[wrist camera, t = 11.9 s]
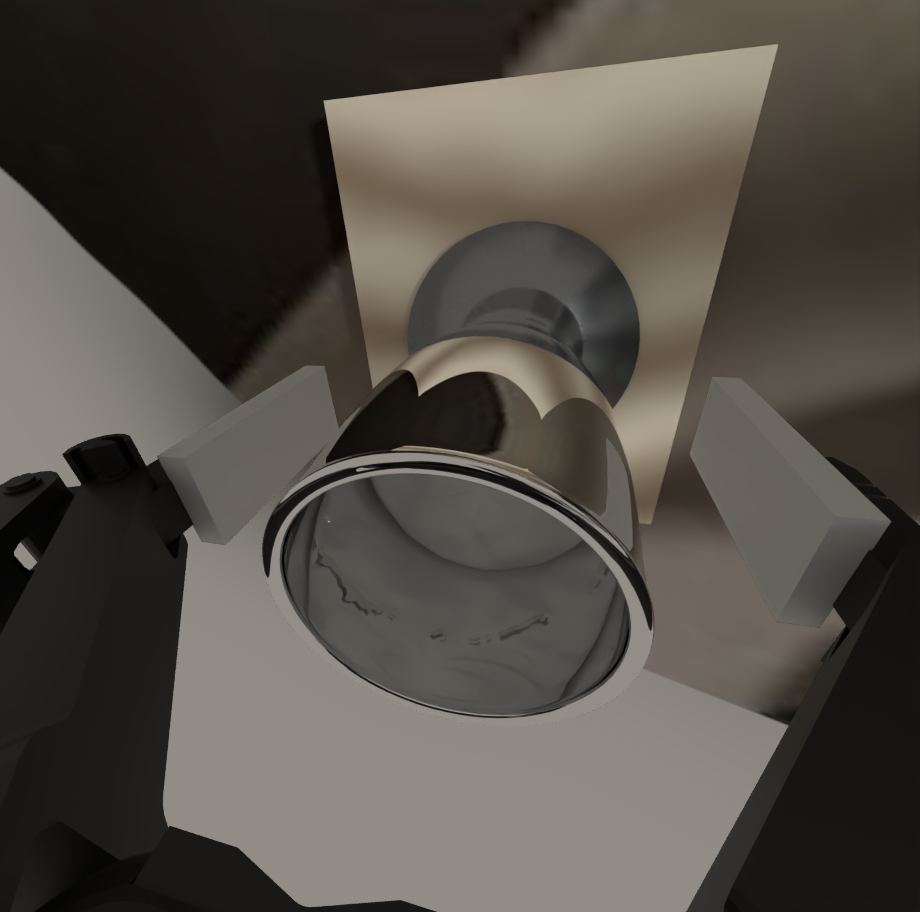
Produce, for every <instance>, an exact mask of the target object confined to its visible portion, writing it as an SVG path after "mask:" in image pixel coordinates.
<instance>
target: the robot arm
mask: <svg viewBox="0 0 920 912" xmlns="http://www.w3.org/2000/svg"><path fill="white" fill-rule="evenodd" d="M338 429H339V427H338V423H337V419H336V414H335V410H334V406H333V401H332V397H331V393H330V388H329V384H328V380H327V375H326V371H325V367H324V366H308V365H306V366H304V367H303V368H301V369H299V370H298V371H296V372H294V373H293V374H291V375H290V376H288V377H286V378H285V379H283V380H281V381H280V382H278V383H276V384H275V385H273V386H271V387H270V388H268V389H267V390H265V391H263V392H262V393H260V394H258V395H257V396H255V397H253V398H252V399H250V400H249V401H247V402H245V403H244V404H242V405H241V406H239V407H237V408H235V409H234V410H232V411H231V412H229V413H227V414H226V415H224V416H222V417H221V418H219V419H217V420H216V421H214V422H213V423H211V424H209V425H208V426H206V427H204V428H203V429H201V430H199V431H198V432H196V433H194V434H193V435H191V436H190V437H188V438H186V439H185V440H183V441H182V442H180V443H178V444H176V445H175V446H173V447H171V448H170V449H168V450H167V451H165V452H163V453H162V454H160V455H158V456H157V457H158V460H156V461H154V462H153V463H151V464H149V465H148V466H146V465H145V463H144V461H143V459H142V457H141V455H140V454H139V452H138V450H137V448H136V446H135V444H134V443H133V441H132V439H131V437H130V436H129V435H126V434H112V435H106V436H101V437H97V438H93V439H90V440H87V441H84V442H82V443H80V444H77V445H76V446H73V447H71V448H70V449H68V450H67V451H66V452H65V453H63V457H64V458H65V460H66V461H67V463H68V464H69V465H70V467H71V469H72V470H73V472H74V473H75V475H76V476H77V478H78V479H79V481H80V482H81V486H76V487H66V485H65V484H64V482H63V481H62V479H61V478H60V477H59V475H58V474H57V473H56V472H52V471H44V472H37V473H32V474H31V473H27V474H23V475H21V476H17V477H14V478H12V479H10V480H9V481H7V482H6V483H4V484H1V485H0V912H436V911H433V910H429V909H426V908H423V907H420V906H417V905H414V904H410V903H408V902H405V901H401V900H397V901H385V902H372V903H359V904H346V905H335V906H321V907H305V906H302V905H300V904H298V903H297V902H295V901H294V900H293V899H292V898H291V897H290V896H289V895H288V894H287V893H286V892H285V891H283V890H282V889H281V888H280V887H279V886H278V885H277V884H276V883H275V882H274V881H273V880H272V879H271V878H270V877H268V876H267V875H266V874H265V873H264V872H263V871H262V870H261V869H260V868H259V867H258V866H257V865H256V864H255V863H254V862H252V861H251V860H250V859H249V858H248V857H247V856H246V855H245V854H244V853H243V852H242V851H241V850H240V849H239V848H237V847H234V846H231V845H228V844H225V843H222V842H218V841H215V840H212V839H209V838H206V837H203V836H200V835H196V834H194V833H190V832H187V831H184V830H181V829H178V828H175V827H172V826H169V828H168V826H167V822H166V819H165V816H164V810H163V790H164V780H165V770H166V760H167V750H168V740H169V730H170V720H171V710H172V700H173V690H174V680H175V670H176V659H177V649H178V639H179V630H180V629H179V628H180V619H181V609H182V600H183V590H184V580H185V570H186V558H187V549H188V543H187V540H186V538H185V536H184V535H183V533H184V532H185V531H186V530H187V529H188V528H190V527H191V526H192V525H193V526H194V528H195V530H196V532H197V534H198V536H199V538H200V540H201V542H207V543H214V544H222V545H226V544H227V543H228V542H229V541H230V540H231V539H232V538H233V537H234V536H235V535H236V534H237V533H238V532H239V531H240V530H241V529H242V528H243V526H245V525H246V524H247V523H248V522H249V521H250V520H251V519H252V518H253V517H254V516H255V515H256V514H257V513H258V512H259V511H260V510H261V509H262V508H263V507H264V506H265V505H266V504H267V503H268V502H269V501H270V500H271V499H272V498H273V497H274V496H275V495H276V494H277V493H278V492H279V491H280V490H281V489H282V488H283V487H284V486H285V485H286V484H287V483H288V482H289V481H290V480H291V479H292V478H293V477H294V476H295V475H296V474H297V473H298V472H299V471H300V470H301V469H302V468H303V467H304V466H305V465H306V464H307V463H308V462H309V461H310V460H311V459H312V458H313V457H314V456H315V455H316V454H317V453H318V452H319V451H320V450H321V449H322V448H323V447H324V446H325V445H326V444H327V443H328V442H329V441H330V440H331V438H332V437H333V436H334V434H335V433H336V432H337V431H338ZM690 456H691V458H692V460H693V462H694V464H695V466H696V468H697V470H698V472H699V474H700V476H701V478H702V480H703V482H704V483H705V485H706V487H707V489H708V491H709V493H710V495H711V497H712V499H713V501H714V503H715V505H716V507H717V509H718V511H719V513H720V515H721V516H722V518H723V520H724V522H725V524H726V526H727V528H728V530H729V532H730V534H731V536H732V538H733V540H734V542H735V544H736V546H737V547H738V549H739V551H740V553H741V555H742V557H743V559H744V561H745V563H746V565H747V567H748V569H749V571H750V573H751V575H752V577H753V579H754V580H755V582H756V584H757V586H758V588H759V590H760V592H761V594H762V596H763V598H764V600H765V602H766V604H767V606H768V608H769V610H770V612H771V613H772V615H773V617H774V619H775V621H776V622H780V623H788V624H795V625H802V626H809V627H816V628H820V627H821V625H822V624H823V622H824V621H825V619H826V618H827V616H828V615H829V613H830V612H831V611H832V609H833V608H835V610H836V611H837V613H838V614H839V616H840V617H841V619H842V620H843V621H844V623H845V624H846V626H845V628H844V629H843V630H842V632H841V633H840V635H839V636H838V637H837V639H836V640H835V642H834V643H833V644H832V646H831V647H830V648H829V650H828V651H827V653H826V654H825V655H824V657H823V658H822V660H821V661H822V662H824V663H823V665H822V666H821V668H820V670H819V672H818V674H817V676H816V677H815V679H814V681H813V683H812V685H811V686H810V688H809V690H808V692H807V694H806V695H805V697H804V699H803V701H802V703H801V705H800V706H799V708H798V710H797V712H796V714H795V715H794V717H793V719H792V721H791V723H790V724H789V726H788V728H787V730H786V732H785V734H784V736H783V737H782V739H781V741H780V743H779V745H778V746H777V748H776V750H775V752H774V754H773V755H772V757H771V759H770V761H769V763H768V764H767V766H766V768H765V770H764V772H763V774H762V775H761V777H760V779H759V781H758V783H757V784H756V786H755V788H754V790H753V792H752V793H751V795H750V797H749V799H748V801H747V802H746V804H745V806H744V808H743V810H742V812H741V813H740V815H739V817H738V819H737V821H736V822H735V824H734V826H733V828H732V830H731V831H730V833H729V835H728V837H727V839H726V841H725V842H724V844H723V846H722V848H721V850H720V852H719V854H718V855H717V857H716V859H715V861H714V863H713V864H712V866H711V868H710V870H709V871H708V873H707V875H706V877H705V879H704V880H703V882H702V884H701V886H700V888H699V890H698V891H697V893H696V895H695V897H694V899H693V900H692V902H691V904H690V906H689V908H688V910H687V911H686V912H920V525H918V524H917V523H916V522H915V521H914V520H913V519H912V518H910V517H909V516H908V515H907V514H906V513H905V512H904V511H903V510H901V509H900V508H899V507H898V506H897V505H896V504H895V503H894V502H892V501H891V500H890V499H886V497H887V496H886V495H885V494H883V493H882V492H881V491H880V490H879V489H878V488H877V487H873V484H872V483H871V482H870V481H869V480H868V479H867V478H865V477H864V476H863V475H862V474H861V473H860V472H859V471H858V470H856V469H854V468H852V467H850V466H848V465H846V464H845V463H843V462H841V461H839V460H837V459H835V458H832V457H823V456H822V455H821V454H820V453H819V452H818V451H817V450H816V449H815V448H814V447H813V446H812V445H811V444H810V443H808V442H807V441H806V440H805V439H804V438H803V437H802V436H801V435H800V434H799V433H798V432H797V431H796V430H795V429H794V428H793V427H792V426H791V425H790V424H789V423H787V422H786V421H785V420H784V419H783V418H782V417H781V416H780V415H779V414H778V413H777V412H776V411H775V410H774V409H773V408H772V407H771V406H770V405H769V404H768V403H766V402H765V401H764V400H763V399H762V398H761V397H760V396H759V395H758V394H757V393H756V392H755V391H754V390H753V389H752V388H751V387H750V386H749V385H748V384H747V383H745V382H744V381H743V380H742V379H741V378H734V377H712V379H711V383H710V386H709V390H708V393H707V396H706V400H705V403H704V406H703V410H702V413H701V417H700V420H699V423H698V427H697V430H696V434H695V437H694V440H693V444H692V447H691V451H690ZM20 542H21V543H22V544H23V545H24V547H25V548H26V549H27V550H28V552H29V553H30V554H31V555H32V556H33V557H34V559H35V560H36V561H37V564H36V565H35V566H34V567H33V568H32V569H30V570H28V569H27V568H25V567H24V566H23V565H22V564H21V563H20V561H19V560H18V559H17V558H16V557H15V556H14V551H15V549H16V547H17V546H18V544H19V543H20Z"/></svg>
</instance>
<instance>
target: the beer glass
mask: <svg viewBox="0 0 920 912" xmlns="http://www.w3.org/2000/svg"><path fill="white" fill-rule="evenodd" d="M583 354H584V342H583V336H582V332H581V328H580V326H579V323H578V321H577V319H576V317H575V316H574V314H573V313H572V311H571V310H570V309H569V308H568V306H567V305H566V304H565V303H564V302H562V301H561V300H560V299H559V298H557V297H556V296H554V295H553V294H551V293H549V292H547V291H544V290H542V289H539V288H535V287H529V286H511V287H506V288H502V289H499V290H496V291H493V292H491V293H489V294H488V295H486V296H484V297H483V298H481V299H480V300H479V301H478V302H476V303H475V304H474V305H473V306H472V307H471V308H470V310H469V311H468V312H467V314H466V315H465V317H464V318H463V320H462V322H461V324H460V326H459V328H458V330H456V331H453V332H451V333H449V334H447V335H445V336H443V337H441V338H439V339H437V340H435V341H433V342H431V343H429V344H427V345H426V346H424V347H422V348H420V349H419V350H417V351H416V352H414V353H413V354H412V355H410V356H409V357H408V358H407V359H405V360H404V361H403V362H402V363H401V364H399V365H398V366H397V367H396V368H395V369H394V370H392V371H391V372H390V373H389V374H388V375H386V376H385V377H384V378H383V379H382V380H381V381H380V382H379V383H378V384H377V385H376V386H375V387H374V389H373V390H372V391H371V392H370V393H369V394H368V395H367V396H366V397H365V398H364V399H363V401H362V402H361V403H360V404H359V405H358V406H357V407H356V408H355V409H354V411H353V412H352V413H351V414H350V415H349V417H348V418H347V419H346V421H345V422H344V423H343V424H342V426H341V427H340V428H339V429H338V431H337V432H336V433H335V434H334V436H333V437H332V438H331V440H330V441H329V442H328V443H327V445H326V446H325V447H324V449H323V450H322V452H321V453H320V454H319V456H318V457H317V458H316V460H315V461H314V462H313V464H312V465H311V466H310V468H309V469H308V470H307V471H306V473H305V474H304V475H303V477H302V478H301V479H300V480H299V482H298V483H297V484H296V485H294V486H293V487H292V488H291V489H290V490H289V491H288V492H287V493H286V494H285V495H284V496H283V497H282V499H281V500H280V502H279V503H278V504H277V505H276V507H275V509H274V510H273V512H272V514H271V516H270V518H269V521H268V523H267V526H266V529H265V532H264V537H263V544H262V562H263V570H264V575H265V579H266V582H267V586H268V588H269V591H270V593H271V596H272V598H273V600H274V602H275V604H276V606H277V608H278V609H279V611H280V613H281V614H282V616H283V617H284V619H285V620H286V622H287V623H288V624H289V626H290V627H291V628H292V630H293V631H294V632H295V633H296V634H297V635H298V637H299V638H300V639H301V640H302V641H303V642H304V643H305V644H306V645H307V646H308V647H309V648H310V649H311V650H312V651H313V652H314V653H315V654H317V655H318V656H319V657H320V658H321V659H322V660H324V661H325V662H326V663H327V664H329V665H330V666H331V667H333V668H334V669H335V670H337V671H338V672H340V673H341V674H342V675H344V676H345V677H347V678H348V679H350V680H352V681H353V682H355V683H357V684H358V685H360V686H362V687H364V688H365V689H367V690H369V691H371V692H373V693H375V694H377V695H379V696H381V697H383V698H386V699H388V700H390V701H392V702H395V703H397V704H400V705H402V706H405V707H408V708H410V709H413V710H416V711H419V712H423V713H426V714H429V715H433V716H437V717H441V718H445V719H450V720H454V721H460V722H465V723H472V724H480V725H491V726H527V725H528V726H529V725H539V724H546V723H552V722H557V721H562V720H566V719H570V718H573V717H576V716H580V715H582V714H585V713H588V712H590V711H592V710H594V709H596V708H599V707H601V706H602V705H604V704H606V703H608V702H609V701H611V700H612V699H614V698H615V697H617V696H618V695H619V694H620V693H622V692H623V691H624V690H625V689H626V688H627V687H628V686H629V685H630V684H631V683H632V682H633V681H634V680H635V678H636V677H637V676H638V674H639V673H640V671H641V670H642V668H643V666H644V665H645V663H646V661H647V658H648V656H649V653H650V650H651V647H652V643H653V637H654V611H653V605H652V601H651V597H650V594H649V591H648V588H647V583H646V576H645V569H644V561H643V551H642V542H641V533H640V524H639V517H638V510H637V503H636V496H635V489H634V484H633V479H632V475H631V470H630V466H629V461H628V456H627V452H626V448H625V444H624V441H623V438H622V435H621V433H620V430H619V427H618V424H617V421H616V419H615V416H614V413H613V410H612V408H611V406H610V404H609V402H608V400H607V398H606V396H605V394H604V393H603V391H602V389H601V388H600V386H599V385H598V383H597V382H596V380H595V378H594V377H593V375H592V374H591V372H590V371H589V370H588V368H587V367H586V366H585V365H584V363H583V362H582V361H583Z"/></svg>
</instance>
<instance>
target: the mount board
mask: <svg viewBox="0 0 920 912" xmlns="http://www.w3.org/2000/svg"><path fill="white" fill-rule="evenodd" d="M777 48H778V44H775V45H767V46H759V47H751V48H743V49H735V50H727V51H719V52H711V53H703V54H695V55H687V56H679V57H671V58H663V59H655V60H647V61H639V62H631V63H623V64H615V65H607V66H599V67H591V68H583V69H575V70H567V71H559V72H551V73H543V74H535V75H527V76H519V77H511V78H503V79H495V80H487V81H479V82H471V83H463V84H455V85H447V86H439V87H431V88H423V89H415V90H407V91H399V92H391V93H383V94H375V95H367V96H359V97H351V98H343V99H335V100H327V101H324V105H325V111H326V117H327V123H328V129H329V135H330V140H331V146H332V152H333V158H334V164H335V170H336V176H337V181H338V187H339V193H340V199H341V205H342V211H343V217H344V222H345V228H346V234H347V240H348V246H349V252H350V258H351V263H352V269H353V275H354V281H355V287H356V293H357V299H358V304H359V310H360V316H361V322H362V328H363V334H364V340H365V345H366V351H367V357H368V363H369V369H370V375H371V381H372V386H373V389H374V387H375V386H376V385H377V384H378V383H379V382H380V381H381V380H382V379H383V378H384V377H385V376H386V375H388V374H389V373H390V372H391V371H392V370H394V369H395V368H396V367H397V366H398V365H399V364H401V363H402V362H403V361H404V360H405V359H407V358H408V357H409V356H410V355H412V354H413V353H414V352H416V351H417V350H419V349H420V348H422V347H424V346H426V345H427V344H429V343H431V342H433V341H435V340H437V339H439V338H441V337H443V336H445V335H447V334H449V333H451V332H453V331H456V330H458V328H459V326H460V324H461V322H462V320H463V318H464V317H465V315H466V314H467V312H468V311H469V310H470V308H471V307H472V306H473V305H474V304H475V303H476V302H478V301H479V300H480V299H481V298H483V297H484V296H486V295H488V294H489V293H491V292H493V291H496V290H499V289H502V288H506V287H511V286H529V287H535V288H539V289H542V290H544V291H547V292H549V293H551V294H553V295H554V296H556V297H557V298H559V299H560V300H561V301H562V302H564V303H565V304H566V305H567V306H568V308H569V309H570V310H571V311H572V313H573V314H574V316H575V317H576V319H577V321H578V323H579V326H580V328H581V332H582V336H583V342H584V354H583V361H582V362H583V363H584V365H585V366H586V367H587V368H588V370H589V371H590V372H591V374H592V375H593V377H594V378H595V380H596V382H597V383H598V385H599V386H600V388H601V389H602V391H603V393H604V394H605V396H606V398H607V400H608V402H609V404H610V406H611V408H612V410H613V413H614V416H615V419H616V421H617V424H618V427H619V430H620V433H621V435H622V438H623V441H624V444H625V448H626V452H627V456H628V461H629V466H630V470H631V475H632V479H633V484H634V489H635V496H636V503H637V510H638V517H639V523H642V524H651V523H652V519H653V516H654V512H655V508H656V504H657V500H658V497H659V493H660V489H661V485H662V482H663V478H664V474H665V470H666V466H667V463H668V459H669V455H670V451H671V448H672V444H673V440H674V436H675V432H676V429H677V425H678V421H679V417H680V414H681V410H682V406H683V402H684V399H685V395H686V391H687V387H688V383H689V380H690V376H691V372H692V368H693V365H694V361H695V357H696V353H697V349H698V346H699V342H700V338H701V334H702V331H703V327H704V323H705V319H706V316H707V312H708V308H709V304H710V300H711V297H712V293H713V289H714V285H715V282H716V278H717V274H718V270H719V266H720V263H721V259H722V255H723V251H724V248H725V244H726V240H727V236H728V233H729V229H730V225H731V221H732V217H733V214H734V210H735V206H736V202H737V199H738V195H739V191H740V187H741V183H742V180H743V176H744V172H745V168H746V165H747V161H748V157H749V153H750V149H751V146H752V142H753V138H754V134H755V131H756V127H757V123H758V119H759V116H760V112H761V108H762V104H763V100H764V97H765V93H766V89H767V85H768V82H769V78H770V74H771V70H772V66H773V63H774V59H775V55H776V51H777Z"/></svg>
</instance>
